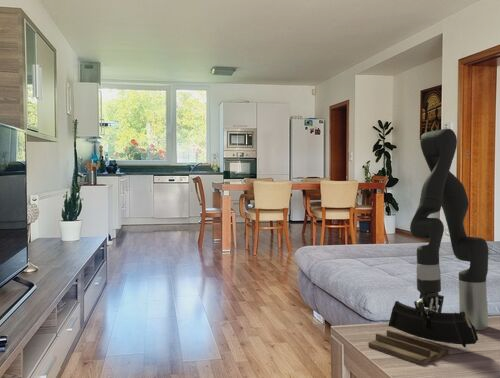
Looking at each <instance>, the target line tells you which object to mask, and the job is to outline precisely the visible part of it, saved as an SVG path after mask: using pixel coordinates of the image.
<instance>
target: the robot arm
mask: <svg viewBox="0 0 500 378" xmlns="http://www.w3.org/2000/svg"><path fill="white" fill-rule="evenodd" d="M419 141H420V143H419V144H420V149H421V152H422V154H423V157H424V160H425V162H426V165H427V167H428V168H429V171H430V173H429V175H428V176H427V177H426V179H425V181H424V182H423V185H422V188H421V192H420V199H419V203H418V204H419V205H418V206H417V208H416V211H415V213H414V215H413V217H412V219H411V221H410V226H409V231H410V233H411V235H412V236H413V237H414V238H415V239H416V238H417V239H427V240H429V241H428V244H423V245H419V246H417V247H416V290H417V291H418V292H419V293H420V294H419V299H418V300H415V301H414V302H413V304H414V308H416V311H417V314H418V316H419V317H422V318H423V328H424V329H427V330H429V329H430V319H429V318H430V312H439V313H442V309H443V305H444V298H445V296H444V295H441V294H439V293H440V292H441V291H442V284H441V283H442V281H441V279H442V278H441V276H442V275H441V267H440V249H441V243H442V240H443V236H444V233H445V225H444V223H443V221H442V220H441V219H440V218H437V217H429V216H430V215H433V214H437V213H440V211H441V210H442V211H443V214H444V215H443V216H444V218H445V222H446V225H447V228H448V229H447V230H448V235H449V238H450V240H449V241H450V245H451V249H452V252H453V255H454V257H455V258H456V259H458V260H459V261H463V262H469V268H468V269H464V270H461V271H459V272H458V301H459V302H458V304H459V305H458V306H459V313H460V312H462V311H463V312H465V314H466V316H467V318H469V320H470V322H471V324H472V325H473V326H474V327H475V330H476V331H484V330H487V329H488V326H489V311H488V310H489V309H488V299H487V296H488V295H487V294H488V293H487V275H488V273H489V272H488V271H489V245H488V243H487V241H486V240H485V239H484V238H482V237H477V236H476V237H475V236H468V235H467V233H466V230H465V225H464V224H465V223H464V221H465V218H466V215H467V213H468V210H469V206H470V205H469V204H470V203H469V197H468V195H467V191H466V188H465V186H464V184H463V183H462V182H461V180H459V179H458V178H457V176H455V175H454V174H453V173H452V172H451V171H450V170H451V168H452V163H453V160H454V157H455V154H456V151H457V146H458V138H457V134H456V133H455V132H454V130H452V129H451V128H443V129H437V130H432V131H431V130H430V131H426V132H424V133H423V134H422V135H421V136H420V139H419ZM425 311H427V315H426V313H425Z"/></svg>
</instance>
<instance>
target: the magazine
mask: <svg viewBox="0 0 500 378" xmlns="http://www.w3.org/2000/svg"><path fill="white" fill-rule="evenodd" d="M391 309H392V310H391V313H390V317H389V322H388V327H391V328H393V329H396V330H399V331H402V332H403V333H405V334H409V335H411V336H414V337H417V338H419V339H420V338H421V339H423V340H427V341H428V340H429V341H432V342H433V341H434V342H439V343H445V344H453V345H462V347H463V348H466V347H467V345H475V344H476V343H477V341H479V337H478V334H477V330H475V327H474V326H473V325H472V324H471V322H470V320H469V318H467V316H466V314H465V312H463V311H462V312H460V311H459V312H441V313H439V312H430V318H429V319H430V329H429V330H427V329H424V328H423V318H422V317H419V316H418V314H417V311H416V308H415V307H412V306H410V305H407V304H404V303H402V302H400V301H399V300H396V301H394V304H393V306H392V308H391ZM425 313H426V315H427V311H425Z"/></svg>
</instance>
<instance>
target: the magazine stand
mask: <svg viewBox="0 0 500 378" xmlns="http://www.w3.org/2000/svg"><path fill="white" fill-rule="evenodd" d="M367 344H368V348H370V347H371V348H370V349H373V348H374V349H373V350H376V349H377V351H379V352H382V353H384V354H385V353H386V354H388V355H391V356H394V357H396V358H399V359H402V360H405V361H408V362H411V363H415V364H416V365H420V366H423V365H425V364H427V363H431V362H433V361H435V360H439V359H440V358H442V357H446V356H447V355H449V349H448V348H444V347H442V345H440V344H436V343H434V342H431V341H428V340H425V339H420V338H418V337H417V338H416V337H415V336H414V337H413V336H410V335H406V334H403V333H399V332H397V331H392V330H390V329H388V330H386V335H384V334H381V333H375V340H371V341H368V343H367Z"/></svg>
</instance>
